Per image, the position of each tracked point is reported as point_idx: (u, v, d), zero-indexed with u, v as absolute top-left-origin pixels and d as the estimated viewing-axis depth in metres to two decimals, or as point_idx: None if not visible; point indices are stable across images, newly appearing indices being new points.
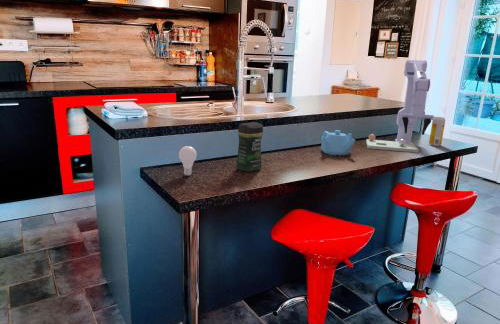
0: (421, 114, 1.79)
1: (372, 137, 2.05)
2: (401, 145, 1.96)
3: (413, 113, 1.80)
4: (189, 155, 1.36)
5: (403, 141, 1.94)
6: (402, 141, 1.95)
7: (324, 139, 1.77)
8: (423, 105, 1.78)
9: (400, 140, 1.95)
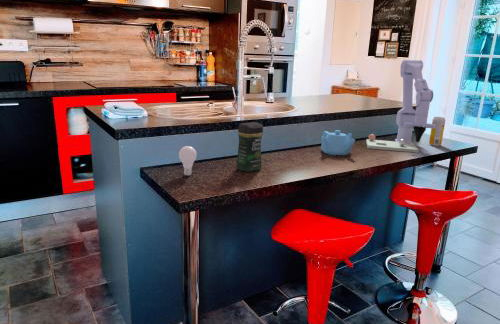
0: (424, 123, 1.89)
1: (372, 137, 2.05)
2: (401, 145, 1.96)
3: (416, 122, 1.90)
4: (189, 155, 1.36)
5: (403, 141, 1.94)
6: (402, 141, 1.95)
7: (324, 139, 1.77)
8: (427, 114, 1.88)
9: (400, 140, 1.95)
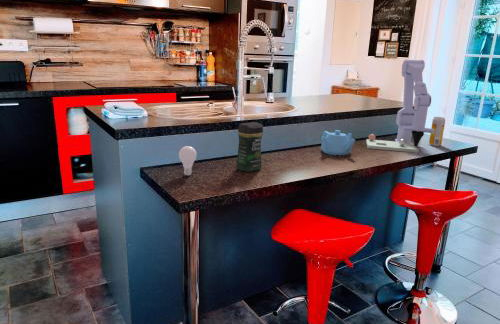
0: (422, 128, 1.90)
1: (372, 137, 2.05)
2: (401, 145, 1.96)
3: (415, 127, 1.91)
4: (189, 155, 1.36)
5: (403, 141, 1.94)
6: (402, 141, 1.95)
7: (324, 139, 1.77)
8: (425, 119, 1.89)
9: (400, 140, 1.95)
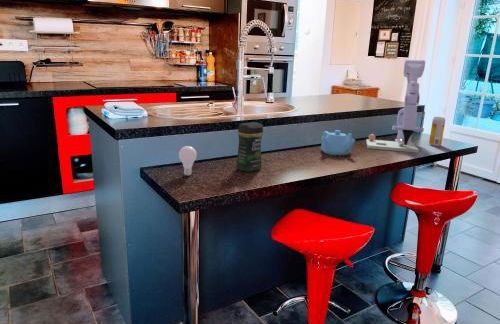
0: (412, 126, 1.91)
1: (372, 137, 2.05)
2: (401, 145, 1.96)
3: (404, 126, 1.92)
4: (189, 155, 1.36)
5: (402, 141, 1.95)
6: (401, 141, 1.95)
7: (324, 139, 1.77)
8: (413, 118, 1.90)
9: (399, 141, 1.95)
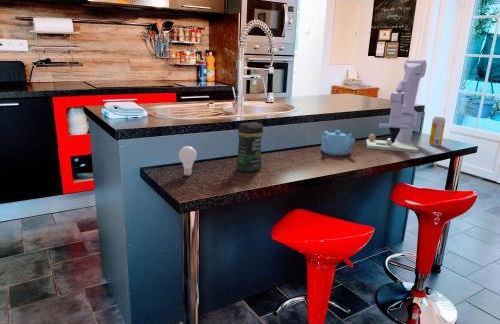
0: (398, 124, 1.92)
1: (372, 137, 2.05)
2: (389, 138, 1.96)
3: (391, 123, 1.93)
4: (189, 155, 1.36)
5: (390, 143, 1.96)
6: (391, 143, 1.96)
7: (324, 139, 1.76)
8: (398, 116, 1.90)
9: None
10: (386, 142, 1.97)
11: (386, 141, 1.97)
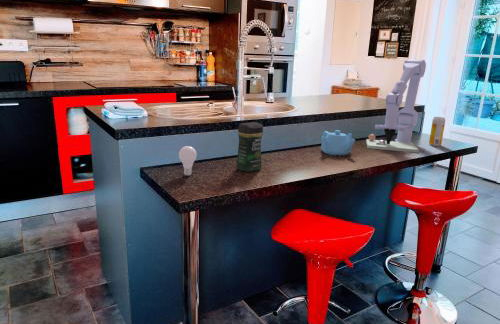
0: (394, 126, 1.93)
1: (372, 137, 2.05)
2: (379, 142, 1.98)
3: (386, 125, 1.94)
4: (189, 155, 1.36)
5: (384, 143, 1.98)
6: (384, 142, 1.98)
7: (324, 139, 1.76)
8: (393, 117, 1.92)
9: (384, 141, 1.99)
10: None
11: None
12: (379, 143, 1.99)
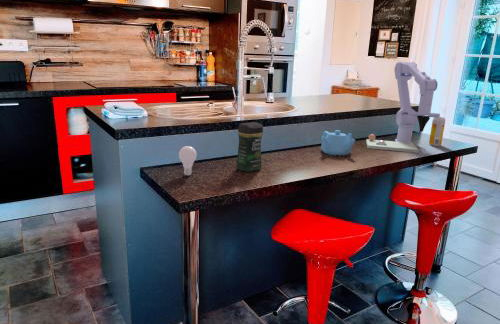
0: (428, 112, 1.90)
1: (372, 137, 2.05)
2: (379, 143, 1.98)
3: (420, 111, 1.91)
4: (189, 155, 1.36)
5: (383, 144, 1.97)
6: (383, 143, 1.97)
7: (324, 139, 1.77)
8: (431, 104, 1.90)
9: None
10: None
11: None
12: (378, 144, 1.98)
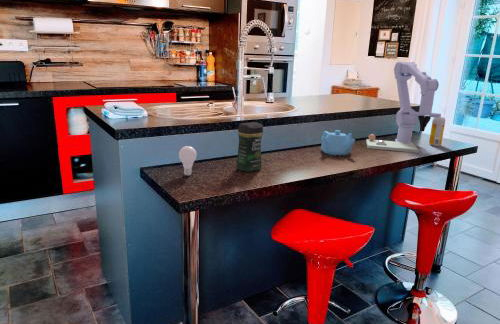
0: (429, 112, 1.90)
1: (372, 137, 2.05)
2: (378, 144, 1.98)
3: (421, 111, 1.91)
4: (189, 155, 1.36)
5: (383, 144, 1.97)
6: (383, 144, 1.97)
7: (324, 139, 1.77)
8: (432, 104, 1.90)
9: (383, 141, 1.97)
10: None
11: None
12: None
